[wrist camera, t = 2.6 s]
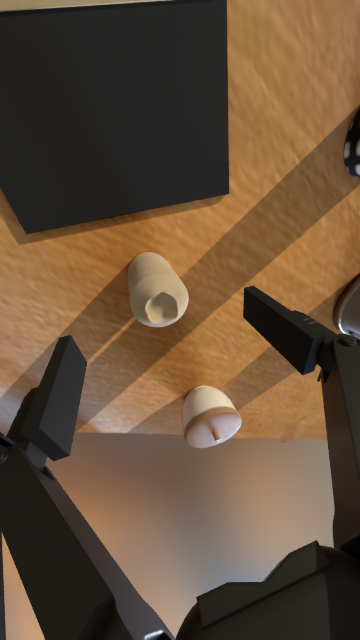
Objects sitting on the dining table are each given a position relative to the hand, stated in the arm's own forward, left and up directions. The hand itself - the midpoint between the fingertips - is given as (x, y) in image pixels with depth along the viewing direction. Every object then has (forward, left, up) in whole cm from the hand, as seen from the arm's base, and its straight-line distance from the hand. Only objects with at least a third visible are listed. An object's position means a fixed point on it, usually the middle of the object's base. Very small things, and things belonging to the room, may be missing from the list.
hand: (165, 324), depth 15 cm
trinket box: (-4, +28, -13) cm, 31 cm away
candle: (0, 0, -13) cm, 13 cm away
